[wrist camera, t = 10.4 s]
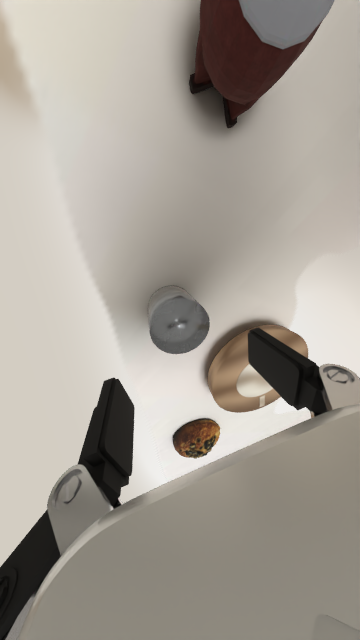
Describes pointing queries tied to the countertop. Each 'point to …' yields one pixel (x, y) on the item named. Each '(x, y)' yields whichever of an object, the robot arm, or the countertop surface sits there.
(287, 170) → the countertop surface
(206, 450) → the bread roll
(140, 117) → the countertop surface
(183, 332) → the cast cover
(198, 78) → the mate gourd
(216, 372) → the turntable
